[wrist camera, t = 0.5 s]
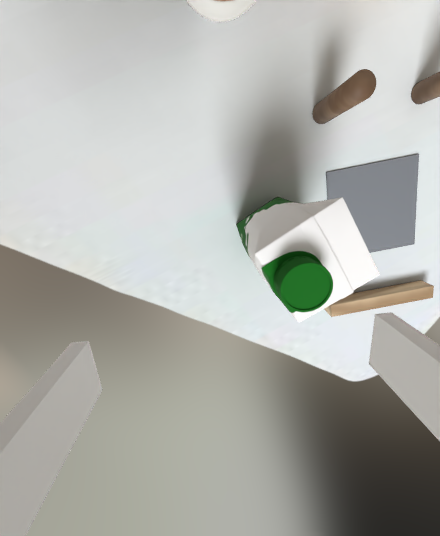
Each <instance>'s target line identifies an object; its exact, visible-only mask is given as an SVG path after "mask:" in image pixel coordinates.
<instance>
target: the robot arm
mask: <svg viewBox="0 0 440 536" xmlns="http://www.w3.org/2000/svg"><path fill="white" fill-rule="evenodd" d="M369 364H370V366H371V367H372V368H373V369H374V370H375V371H376V372H377V373H378V374H379V375H380V376H381V378H382V379H383V380H384V381H385V382H386V383H387V384H388V385H389V386H390V387H391V388H392V390H393V391H394V392H395V393H396V394H397V395H398V396H399V397H400V398H401V399H402V400H403V402H404V403H405V404H406V405H407V406H408V407H409V408H410V409H411V410H412V411H413V413H415V415H416V416H417V417H418V418H419V419H420V420H421V421H422V422H423V423H424V425H425V426H426V427H427V428H428V429H429V430H430V431H431V432H432V433H433V434H434V435H435V437H436V438H437V439H438V440H439V441H440V345H439V344H437V343H436V342H434V341H433V340H431V339H430V338H428V337H427V336H425V335H424V334H422V333H421V332H419V331H418V330H416V329H415V328H414V327H412V326H411V325H409V324H408V323H406V322H405V321H403V320H402V319H400V318H399V317H397V316H396V315H394V314H393V313H382V314H375V320H374V328H373V335H372V343H371V351H370V359H369ZM101 391H102V387H101V383H100V380H99V376H98V372H97V369H96V365H95V362H94V358H93V354H92V351H91V348H90V344H89V341H83V342H73V343H71V344H70V345H69V346H68V347H67V348H66V349H65V351H64V352H63V353H62V354H61V355H60V356H59V357H58V358H57V360H56V361H55V362H54V363H53V364H52V365H51V366H50V367H49V369H48V370H47V371H46V372H45V373H44V374H43V375H42V376H41V378H40V379H39V380H38V381H37V382H36V383H35V384H34V385H33V387H32V388H31V389H30V390H29V391H28V392H27V393H26V394H25V396H24V397H23V398H22V399H21V400H20V401H19V402H18V403H17V405H16V406H15V407H14V408H13V409H12V410H11V411H10V413H9V414H8V415H7V416H6V417H5V418H4V419H3V421H2V422H1V423H0V536H26V534H27V532H28V530H29V528H30V526H31V524H32V523H33V521H34V518H35V517H36V515H37V513H38V511H39V509H40V507H41V505H42V503H43V502H44V500H45V498H46V496H47V494H48V492H49V490H50V488H51V486H52V485H53V483H54V481H55V479H56V477H57V475H58V473H59V471H60V469H61V467H62V465H63V464H64V462H65V460H66V458H67V456H68V454H69V452H70V450H71V448H72V447H73V445H74V443H75V441H76V439H77V437H78V435H79V433H80V431H81V429H82V428H83V425H84V424H85V422H86V420H87V418H88V416H89V414H90V412H91V410H92V409H93V407H94V405H95V403H96V401H97V399H98V397H99V395H100V393H101Z"/></svg>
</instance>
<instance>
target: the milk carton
mask: <svg viewBox="0 0 440 536" xmlns="http://www.w3.org/2000/svg"><path fill="white" fill-rule="evenodd" d="M236 225H237V228H238V231H239V234H240V237H241V240H242V243H243V246H244V248H245V250H246V252H247V253H248V255H249V257H250V258H251V260H252V262H253V263H254V265H255V267H256V268H257V270H258V272H259V273H260V275H261V276H262V277H263V279H264V280H265V281H266V283H267V284H268V285H269V286H270V288H271V289H272V290H273V292H274V293H275V295H276V296H277V297H278V298H279V299H280V300H281V301H282V303H283V304H284V305H285V306H286V308H287V309H288V310H289V311H290V313H291V314H292V315H293V316H294V318H295V319H296V320H297V321H298V322H301V321H303V320H305V319H307V318H308V317H310V316H312V315H314V314H315V313H317V312H319V311H321V310H322V309H324V308H326V307H328V306H329V305H331V304H333V303H335V302H337V301H338V300H340V299H343V298H345V297H347V296H348V295H350V294H352V293H353V292H354V291H353V290H355V289H357V288H358V287H360V286H362V285H364V284H365V283H367V282H369V281H370V280H372V279H374V278H376V277H377V276H379V275H380V273H379V271H378V269H377V267H376V265H375V263H374V261H373V259H372V257H371V255H370V253H369V251H368V249H367V246H366V244H365V242H364V240H363V238H362V236H361V234H360V232H359V230H358V228H357V226H356V224H355V222H354V220H353V218H352V215H351V213H350V211H349V209H348V207H347V205H346V203H345V201H344V199H343V197H341V198H336V199H330V200H324V201H318V202H312V203H306V204H302V203H295V202H291V201H288V200H285V199H282V198H280V197H277V198H275V199H273V200H272V201H270V202H269V203H267V204H265V205H264V206H262V207H261V208H259V209H258V210H256V211H255V212H254V213H252V214H251V215H249V216H248V217H246V218H245V219H244V220H242V221H241V222H239V223H238V224H236Z"/></svg>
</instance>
